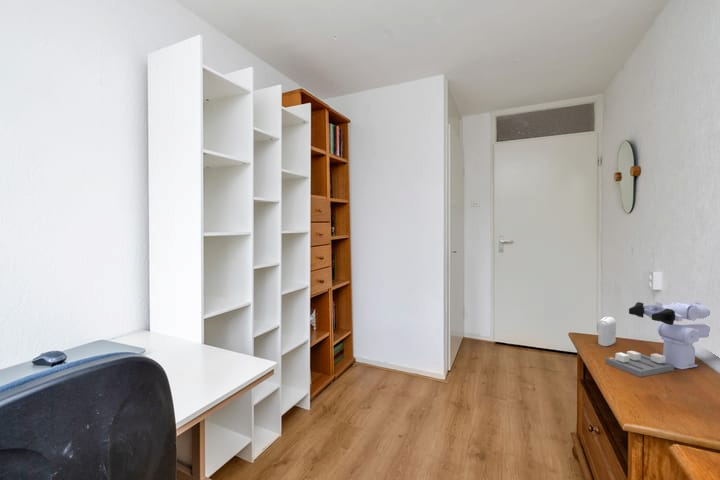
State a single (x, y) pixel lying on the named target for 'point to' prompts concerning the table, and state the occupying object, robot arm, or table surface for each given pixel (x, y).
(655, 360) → the switch
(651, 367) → the switch panel
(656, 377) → the table surface
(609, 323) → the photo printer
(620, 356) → the switch
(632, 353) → the switch middle
